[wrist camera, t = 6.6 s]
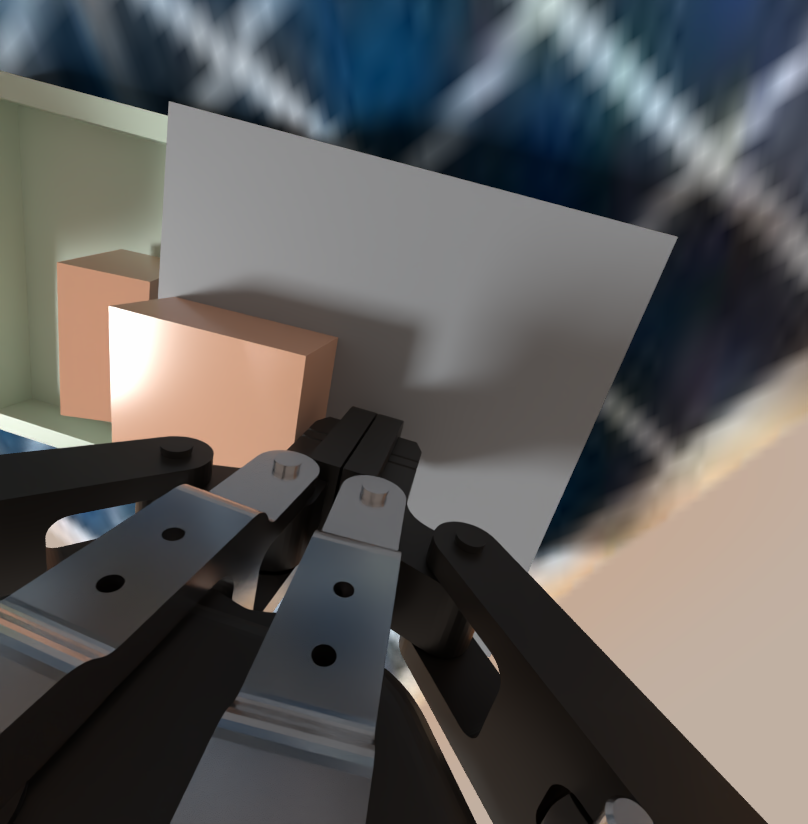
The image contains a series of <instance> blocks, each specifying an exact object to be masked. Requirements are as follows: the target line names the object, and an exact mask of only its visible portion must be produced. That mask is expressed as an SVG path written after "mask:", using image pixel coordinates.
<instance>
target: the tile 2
mask: <svg viewBox="0 0 808 824" xmlns="http://www.w3.org/2000/svg"><path fill="white" fill-rule="evenodd" d="M109 338H110V380H111V421H112V442H121V441H130V440H139V439H148V438H157V437H167V436H183V437H190V438H194V439H198V440H201V441H203V442H205V443H206V444H208V445H209V446H210V447H211V448H212V449H213V452H214V456H213V465H220V466H228V467H237V468H242V467H243V466H244V465H246V464H247V463H248V462H250V461H251V460H252V459H254V458H255V457H256V456H258V455H260V454H261V453H264V452H267V451H273V450H287V449H288V448H289V447H290V446H291V445H292V444H293V443H294V442H295V441H296V440H297V439H298V438H299V437H300V436H302V434H303V433H304V432H305V431H306V430H308V429H309V427H310V426H311V425H312V424H313V423H314V422H315V421H317V420H320V419H323V418H325V417H326V410H327V404H328V398H329V392H330V386H331V379H332V373H333V367H334V361H335V354H336V348H337V342H338V337H335V336H331V335H327V334H323V333H319V332H315V331H311V330H306V329H302V328H298V327H294V326H290V325H286V324H282V323H278V322H274V321H270V320H266V319H262V318H258V317H254V316H250V315H246V314H242V313H238V312H234V311H230V310H226V309H222V308H218V307H214V306H210V305H206V304H202V303H198V302H194V301H190V300H186V299H182V298H178V297H169V298H162V299H155V300H148V301H141V302H133V303H126V304H119V305H112V306H109Z"/></svg>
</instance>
